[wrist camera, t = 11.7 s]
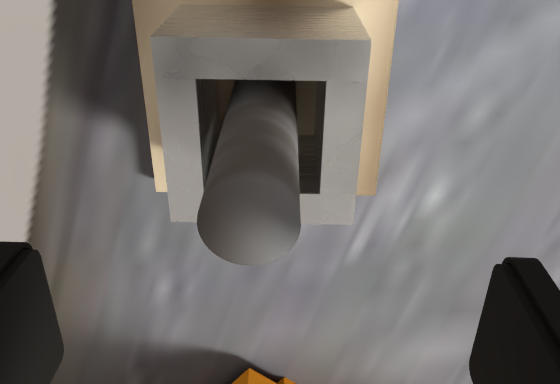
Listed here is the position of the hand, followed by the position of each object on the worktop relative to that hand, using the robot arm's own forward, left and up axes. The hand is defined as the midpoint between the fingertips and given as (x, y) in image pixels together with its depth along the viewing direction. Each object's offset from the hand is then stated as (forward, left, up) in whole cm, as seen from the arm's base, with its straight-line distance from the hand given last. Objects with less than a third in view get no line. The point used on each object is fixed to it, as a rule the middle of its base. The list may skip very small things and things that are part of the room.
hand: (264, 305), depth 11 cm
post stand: (0, -1, -13) cm, 13 cm away
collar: (0, -1, -12) cm, 12 cm away
